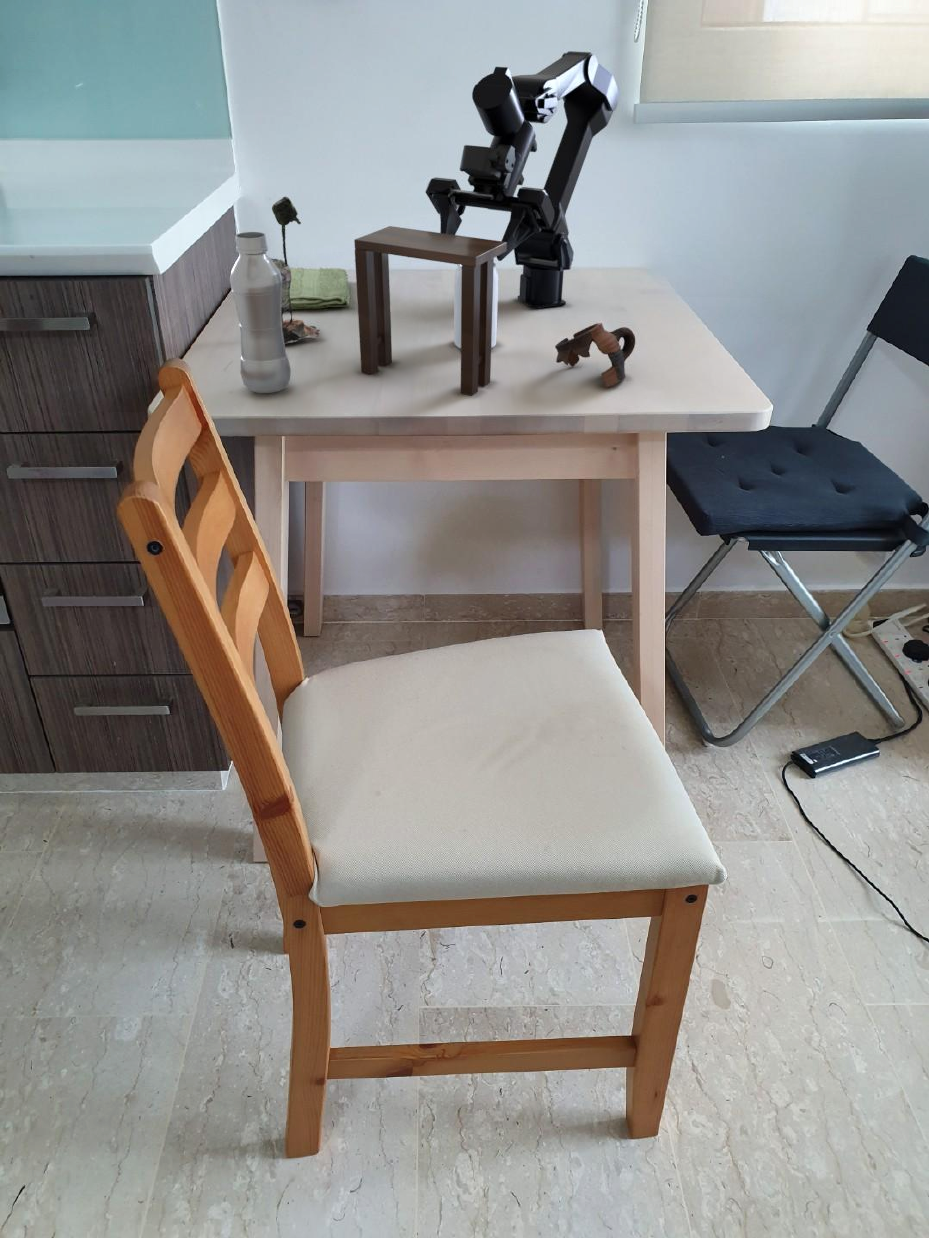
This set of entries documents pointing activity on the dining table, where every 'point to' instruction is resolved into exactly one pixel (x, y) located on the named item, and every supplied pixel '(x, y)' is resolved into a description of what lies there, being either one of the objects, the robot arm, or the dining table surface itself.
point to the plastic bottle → (259, 315)
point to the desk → (474, 295)
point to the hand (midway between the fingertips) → (470, 255)
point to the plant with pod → (289, 277)
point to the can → (458, 306)
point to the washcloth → (319, 288)
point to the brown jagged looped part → (605, 344)
